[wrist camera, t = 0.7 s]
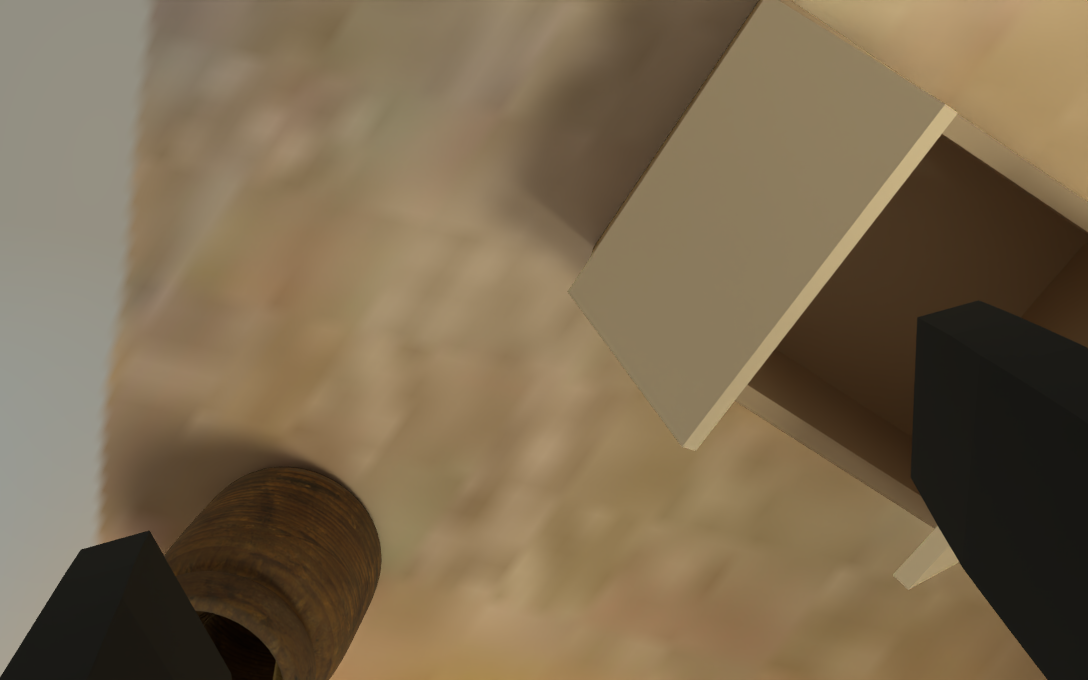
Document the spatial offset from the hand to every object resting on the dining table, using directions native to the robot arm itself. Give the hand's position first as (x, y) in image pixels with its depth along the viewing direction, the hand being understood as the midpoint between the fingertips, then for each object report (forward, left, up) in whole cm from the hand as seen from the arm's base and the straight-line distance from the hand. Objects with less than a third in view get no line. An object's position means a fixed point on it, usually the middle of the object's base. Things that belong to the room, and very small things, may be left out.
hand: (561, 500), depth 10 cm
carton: (-6, -1, -20) cm, 20 cm away
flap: (-2, -1, -12) cm, 12 cm away
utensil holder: (+2, +16, -20) cm, 26 cm away
